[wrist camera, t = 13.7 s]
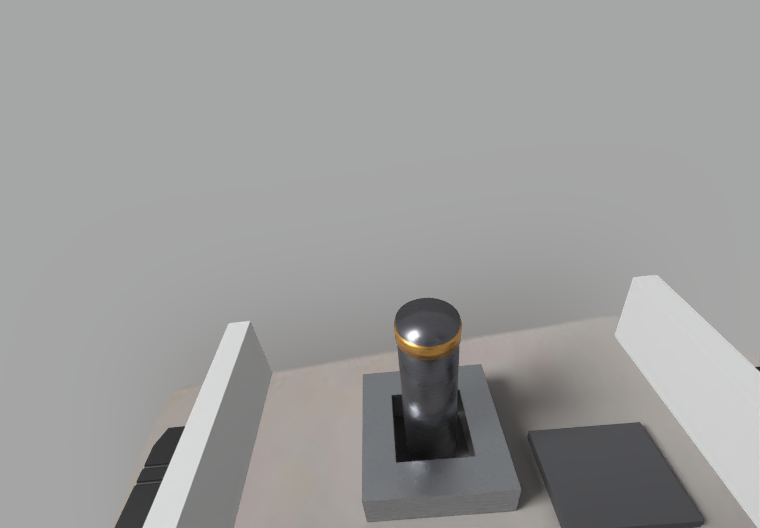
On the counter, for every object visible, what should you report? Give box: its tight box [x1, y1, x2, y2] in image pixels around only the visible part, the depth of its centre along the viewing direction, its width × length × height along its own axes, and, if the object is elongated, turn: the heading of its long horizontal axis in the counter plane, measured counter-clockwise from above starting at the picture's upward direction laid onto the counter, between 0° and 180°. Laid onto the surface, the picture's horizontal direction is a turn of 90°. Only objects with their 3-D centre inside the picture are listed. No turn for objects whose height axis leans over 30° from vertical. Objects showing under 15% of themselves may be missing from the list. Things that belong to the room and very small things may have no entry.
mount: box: [528, 422, 704, 528], centre depth 32 cm, size 10×8×1 cm
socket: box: [362, 364, 521, 522], centre depth 35 cm, size 12×12×4 cm
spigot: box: [394, 298, 462, 461], centre depth 31 cm, size 5×5×16 cm
